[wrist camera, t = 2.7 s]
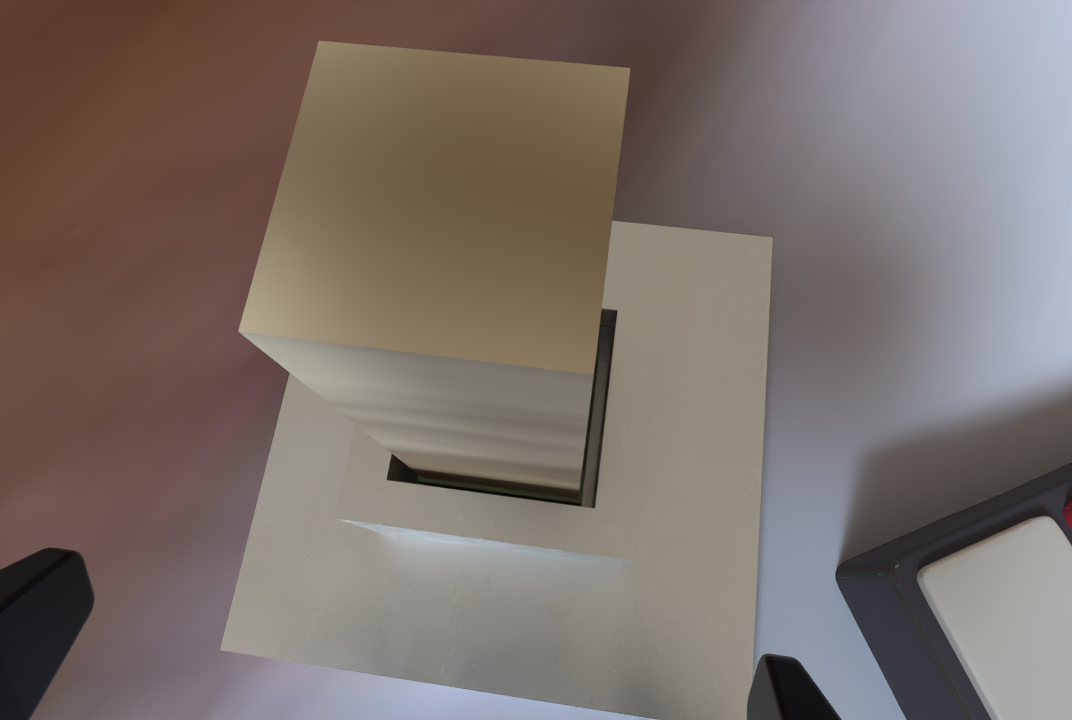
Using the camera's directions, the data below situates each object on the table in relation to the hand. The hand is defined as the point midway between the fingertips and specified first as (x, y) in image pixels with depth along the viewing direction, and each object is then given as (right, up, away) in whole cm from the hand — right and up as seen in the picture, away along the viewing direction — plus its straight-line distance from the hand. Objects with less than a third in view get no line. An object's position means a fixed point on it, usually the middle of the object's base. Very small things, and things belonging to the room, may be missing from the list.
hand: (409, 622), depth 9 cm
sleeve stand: (+1, +1, +12) cm, 13 cm away
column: (+1, +1, +11) cm, 12 cm away
